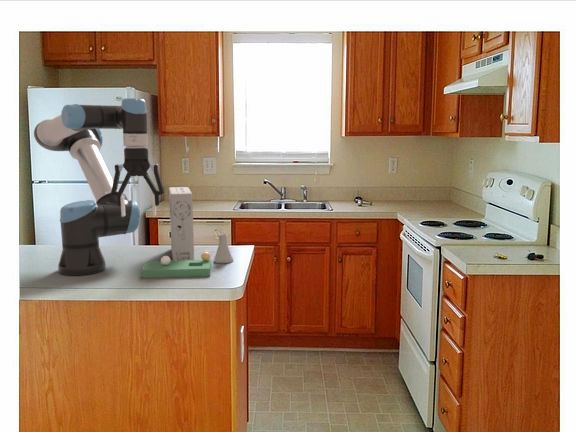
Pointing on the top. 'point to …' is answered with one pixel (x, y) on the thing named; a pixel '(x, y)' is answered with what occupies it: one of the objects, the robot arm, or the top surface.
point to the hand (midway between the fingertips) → (139, 215)
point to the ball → (165, 260)
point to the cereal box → (181, 223)
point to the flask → (223, 251)
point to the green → (177, 268)
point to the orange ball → (205, 256)
